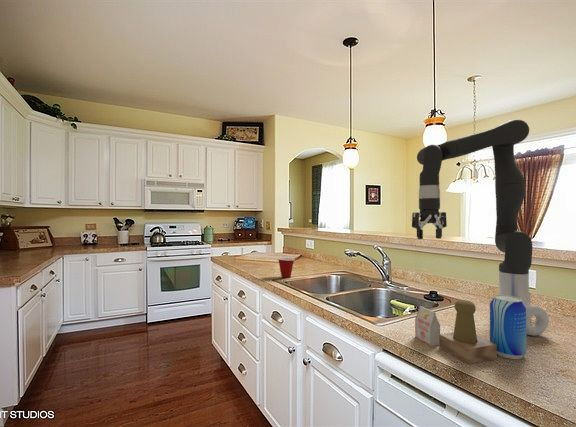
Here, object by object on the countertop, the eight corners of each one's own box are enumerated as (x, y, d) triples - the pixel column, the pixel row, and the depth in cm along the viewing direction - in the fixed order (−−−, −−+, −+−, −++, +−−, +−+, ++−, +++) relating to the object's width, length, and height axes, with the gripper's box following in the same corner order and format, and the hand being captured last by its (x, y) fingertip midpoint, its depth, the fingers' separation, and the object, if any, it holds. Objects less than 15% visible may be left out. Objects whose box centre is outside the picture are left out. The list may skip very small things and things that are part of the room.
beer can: (514, 363, 80) (514, 303, 80) (483, 350, 88) (483, 295, 88) (533, 357, 84) (532, 299, 83) (501, 344, 91) (501, 292, 91)
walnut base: (466, 343, 92) (466, 330, 92) (496, 358, 82) (496, 344, 82) (439, 347, 90) (439, 334, 90) (467, 363, 80) (467, 349, 80)
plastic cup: (298, 277, 185) (298, 258, 185) (283, 279, 180) (283, 260, 180) (289, 274, 194) (289, 256, 194) (274, 276, 189) (274, 257, 189)
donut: (523, 338, 96) (523, 307, 96) (514, 333, 99) (514, 303, 99) (552, 337, 97) (552, 306, 97) (542, 332, 100) (542, 303, 100)
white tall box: (424, 335, 98) (424, 305, 98) (440, 344, 92) (440, 312, 92) (415, 337, 97) (415, 306, 97) (430, 345, 91) (429, 313, 91)
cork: (481, 344, 82) (481, 305, 82) (457, 342, 84) (456, 303, 84) (472, 335, 88) (472, 298, 88) (450, 334, 90) (450, 297, 89)
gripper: (437, 198, 122) (437, 237, 122) (407, 197, 119) (407, 238, 119) (451, 197, 115) (451, 239, 115) (420, 196, 111) (420, 240, 111)
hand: (429, 238), depth 117 cm, fingers open, 8 cm apart
